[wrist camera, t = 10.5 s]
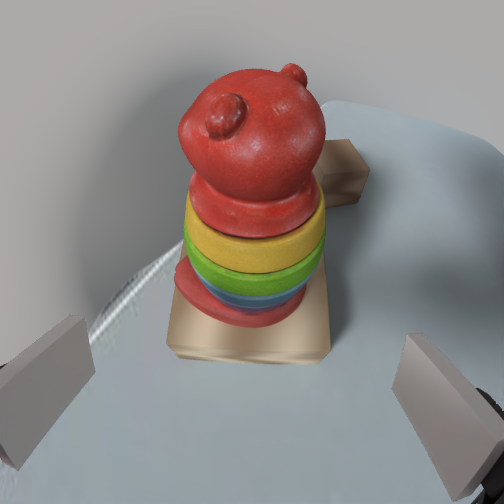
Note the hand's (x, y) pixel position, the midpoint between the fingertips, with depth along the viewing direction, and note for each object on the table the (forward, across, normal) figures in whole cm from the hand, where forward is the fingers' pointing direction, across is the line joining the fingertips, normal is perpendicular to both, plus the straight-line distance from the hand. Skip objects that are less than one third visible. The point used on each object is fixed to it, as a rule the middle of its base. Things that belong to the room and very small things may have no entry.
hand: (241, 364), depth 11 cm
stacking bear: (+16, 0, -1) cm, 16 cm away
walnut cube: (+30, +9, +7) cm, 33 cm away
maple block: (+19, 0, -5) cm, 20 cm away
